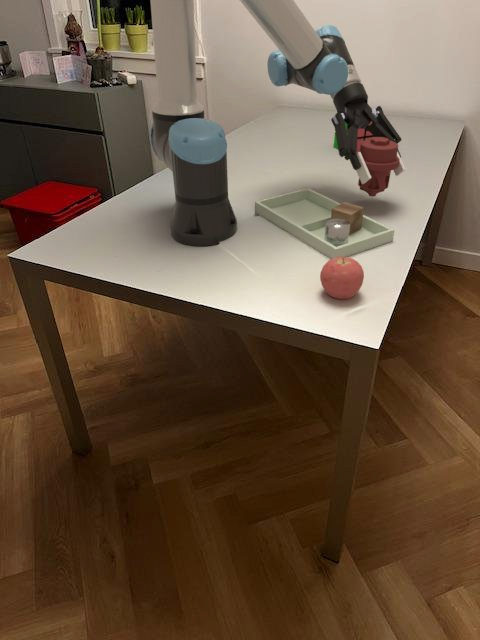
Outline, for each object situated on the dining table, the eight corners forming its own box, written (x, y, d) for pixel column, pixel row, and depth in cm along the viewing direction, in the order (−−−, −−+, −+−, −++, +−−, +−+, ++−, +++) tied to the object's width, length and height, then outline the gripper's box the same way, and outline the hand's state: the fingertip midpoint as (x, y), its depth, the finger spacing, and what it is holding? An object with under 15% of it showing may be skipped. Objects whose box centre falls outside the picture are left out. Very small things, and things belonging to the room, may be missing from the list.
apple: (340, 312, 86) (344, 271, 82) (311, 294, 91) (313, 255, 86) (369, 297, 90) (375, 258, 85) (340, 281, 95) (344, 243, 90)
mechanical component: (392, 186, 122) (394, 201, 114) (351, 183, 124) (350, 197, 116) (401, 134, 115) (404, 146, 107) (357, 132, 117) (357, 143, 109)
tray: (334, 263, 100) (335, 249, 98) (254, 213, 121) (254, 201, 120) (392, 243, 107) (394, 229, 105) (307, 199, 128) (307, 187, 126)
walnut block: (348, 236, 109) (351, 214, 106) (329, 229, 112) (331, 208, 109) (361, 228, 112) (363, 207, 109) (342, 222, 115) (344, 202, 112)
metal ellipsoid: (334, 253, 102) (336, 230, 100) (319, 244, 106) (320, 222, 103) (352, 246, 104) (355, 225, 102) (337, 238, 108) (339, 216, 105)
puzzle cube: (376, 151, 160) (380, 118, 154) (349, 155, 157) (352, 122, 151) (359, 143, 168) (362, 111, 162) (333, 147, 165) (335, 115, 159)
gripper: (317, 85, 108) (356, 177, 106) (392, 76, 118) (429, 160, 116) (300, 107, 115) (337, 193, 113) (373, 96, 124) (408, 176, 122)
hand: (384, 176), depth 114 cm, fingers closed on mechanical component, 10 cm apart
